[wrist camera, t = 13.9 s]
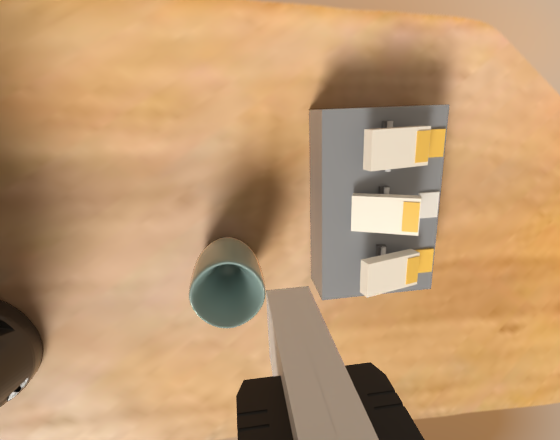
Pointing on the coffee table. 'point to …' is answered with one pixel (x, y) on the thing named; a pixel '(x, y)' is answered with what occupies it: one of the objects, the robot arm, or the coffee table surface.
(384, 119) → the console
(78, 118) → the coffee table surface
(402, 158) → the block
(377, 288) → the rocker
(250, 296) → the cup
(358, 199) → the rocker
